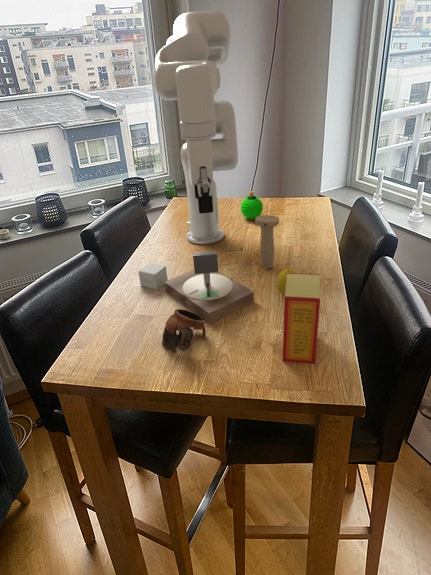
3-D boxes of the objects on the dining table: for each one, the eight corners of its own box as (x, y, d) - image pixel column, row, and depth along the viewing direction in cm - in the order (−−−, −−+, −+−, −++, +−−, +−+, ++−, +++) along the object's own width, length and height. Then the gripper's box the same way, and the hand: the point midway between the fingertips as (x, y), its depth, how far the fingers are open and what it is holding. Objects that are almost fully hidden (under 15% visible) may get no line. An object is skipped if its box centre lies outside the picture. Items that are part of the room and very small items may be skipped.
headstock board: (165, 291, 114) (164, 281, 113) (207, 273, 121) (206, 264, 120) (210, 323, 100) (209, 313, 99) (254, 301, 107) (253, 291, 106)
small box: (168, 280, 119) (166, 265, 117) (157, 290, 115) (154, 274, 112) (151, 277, 122) (149, 261, 119) (140, 286, 117) (137, 271, 115)
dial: (173, 286, 110) (172, 284, 110) (212, 269, 117) (212, 268, 117) (202, 306, 101) (202, 304, 101) (243, 287, 108) (243, 285, 108)
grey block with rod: (196, 298, 104) (193, 266, 99) (195, 284, 109) (192, 253, 105) (220, 296, 104) (218, 263, 99) (218, 282, 110) (216, 251, 105)
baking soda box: (285, 333, 95) (287, 271, 87) (314, 335, 94) (319, 272, 86) (282, 361, 87) (284, 295, 79) (314, 363, 86) (320, 297, 78)
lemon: (285, 304, 105) (286, 276, 101) (272, 294, 109) (272, 267, 105) (303, 298, 107) (304, 270, 103) (289, 288, 112) (290, 261, 107)
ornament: (257, 224, 150) (256, 196, 145) (237, 220, 154) (236, 194, 149) (266, 216, 156) (266, 189, 151) (246, 213, 160) (246, 187, 154)
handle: (276, 272, 119) (277, 222, 112) (254, 270, 121) (253, 221, 114) (279, 264, 123) (280, 216, 116) (257, 262, 125) (257, 214, 117)
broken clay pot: (156, 336, 98) (167, 303, 97) (194, 345, 101) (205, 314, 100) (162, 357, 87) (175, 320, 85) (205, 367, 90) (218, 331, 88)
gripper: (178, 123, 98) (185, 194, 107) (183, 139, 83) (191, 220, 92) (210, 120, 98) (215, 191, 107) (220, 136, 84) (224, 217, 93)
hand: (203, 204), depth 100 cm, fingers open, 9 cm apart
